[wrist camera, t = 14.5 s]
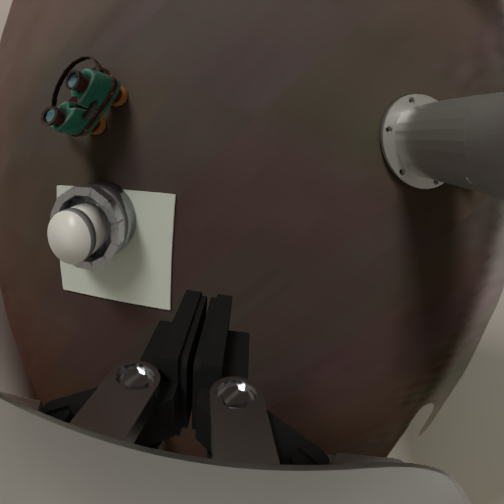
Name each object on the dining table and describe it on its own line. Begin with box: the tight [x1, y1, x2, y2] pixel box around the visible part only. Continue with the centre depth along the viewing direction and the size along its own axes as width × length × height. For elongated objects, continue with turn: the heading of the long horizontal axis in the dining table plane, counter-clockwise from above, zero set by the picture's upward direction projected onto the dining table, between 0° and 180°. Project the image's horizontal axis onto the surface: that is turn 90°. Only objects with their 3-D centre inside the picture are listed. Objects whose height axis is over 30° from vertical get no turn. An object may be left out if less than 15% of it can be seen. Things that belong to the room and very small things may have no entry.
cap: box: [48, 202, 110, 264], centre depth 31 cm, size 6×6×5 cm
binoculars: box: [41, 56, 128, 137], centre depth 27 cm, size 9×11×10 cm
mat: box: [57, 185, 176, 310], centre depth 39 cm, size 18×16×1 cm
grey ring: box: [50, 181, 136, 270], centre depth 34 cm, size 10×10×6 cm
